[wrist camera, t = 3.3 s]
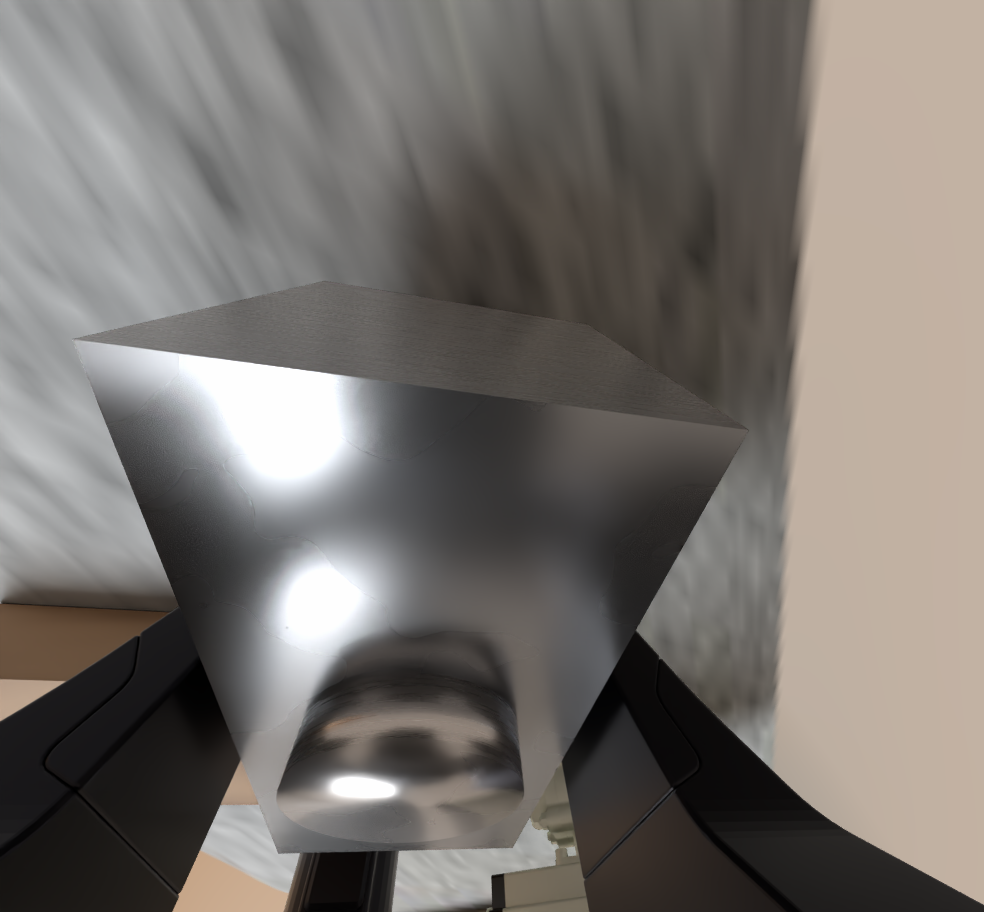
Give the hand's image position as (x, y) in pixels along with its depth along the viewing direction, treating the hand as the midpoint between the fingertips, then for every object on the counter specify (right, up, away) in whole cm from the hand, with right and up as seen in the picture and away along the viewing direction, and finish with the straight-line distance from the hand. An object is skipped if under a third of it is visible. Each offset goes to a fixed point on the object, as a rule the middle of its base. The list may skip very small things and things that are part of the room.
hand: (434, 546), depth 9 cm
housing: (0, 0, +1) cm, 1 cm away
